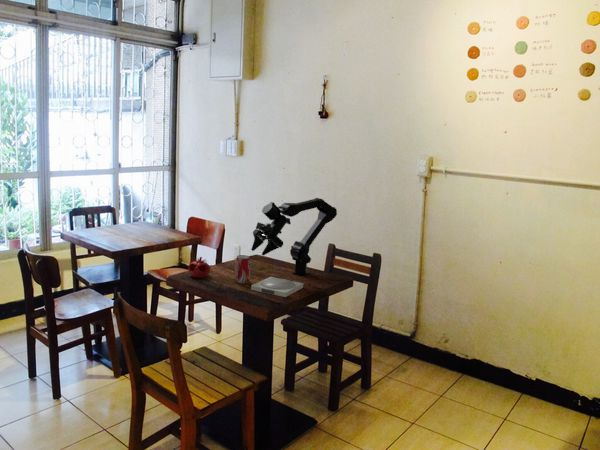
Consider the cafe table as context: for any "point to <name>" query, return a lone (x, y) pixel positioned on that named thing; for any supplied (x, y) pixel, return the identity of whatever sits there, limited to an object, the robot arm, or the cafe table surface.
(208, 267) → the pomegranate
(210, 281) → the cafe table surface
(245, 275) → the soda can
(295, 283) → the scale
